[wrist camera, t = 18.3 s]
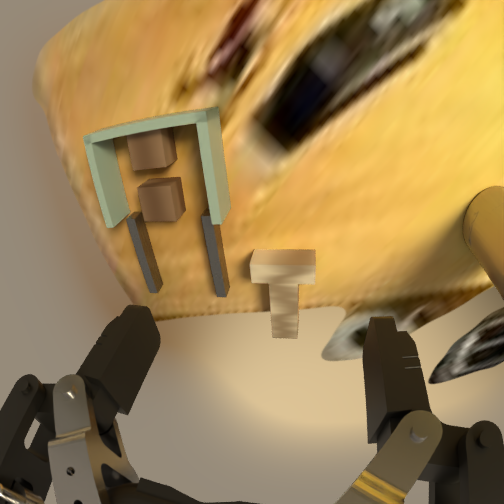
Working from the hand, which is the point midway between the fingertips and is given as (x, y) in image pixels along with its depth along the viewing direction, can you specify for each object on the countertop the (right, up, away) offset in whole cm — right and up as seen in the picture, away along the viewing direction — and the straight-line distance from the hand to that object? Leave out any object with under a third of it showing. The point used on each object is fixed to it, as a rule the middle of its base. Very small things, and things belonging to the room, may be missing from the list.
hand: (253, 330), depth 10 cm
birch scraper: (+3, +2, +23) cm, 23 cm away
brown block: (-10, +14, +20) cm, 26 cm away
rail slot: (-9, +3, +26) cm, 28 cm away
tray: (-10, +12, +21) cm, 26 cm away
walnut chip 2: (-10, +9, +23) cm, 26 cm away
